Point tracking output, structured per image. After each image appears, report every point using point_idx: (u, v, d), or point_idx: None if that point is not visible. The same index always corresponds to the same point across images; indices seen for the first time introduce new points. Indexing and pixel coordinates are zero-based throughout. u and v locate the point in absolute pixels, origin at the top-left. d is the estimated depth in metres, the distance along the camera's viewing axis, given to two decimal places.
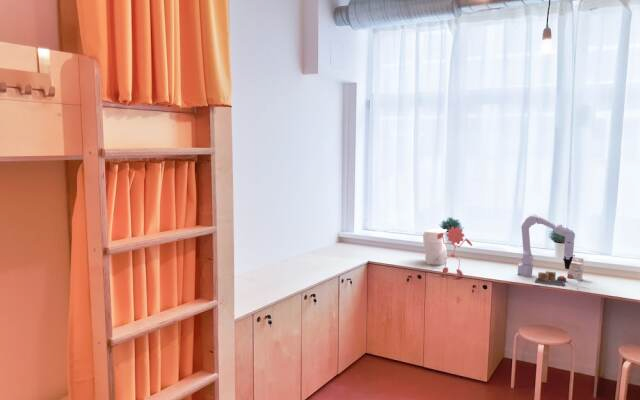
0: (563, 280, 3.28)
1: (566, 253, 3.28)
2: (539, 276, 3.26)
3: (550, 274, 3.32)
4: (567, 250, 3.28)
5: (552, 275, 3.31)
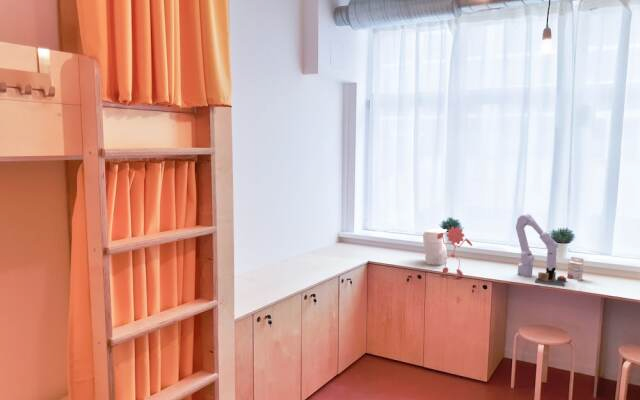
0: (563, 280, 3.28)
1: (549, 264, 3.31)
2: (539, 276, 3.26)
3: None
4: (550, 261, 3.31)
5: None
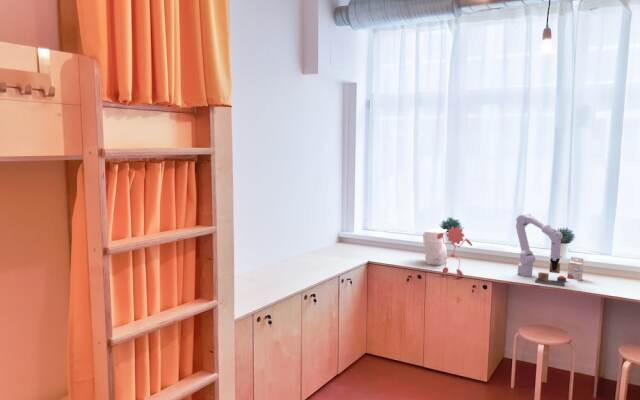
0: (563, 280, 3.28)
1: (553, 254, 3.25)
2: (539, 276, 3.26)
3: None
4: (554, 251, 3.24)
5: (557, 266, 3.25)
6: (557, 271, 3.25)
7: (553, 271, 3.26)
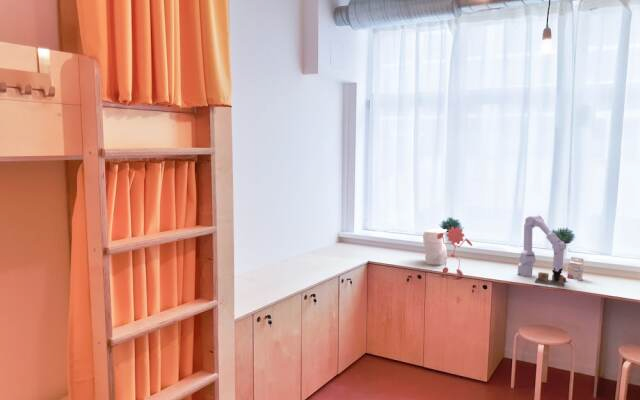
0: (563, 280, 3.28)
1: (555, 265, 3.20)
2: (539, 276, 3.26)
3: None
4: (556, 262, 3.19)
5: (559, 278, 3.20)
6: (559, 283, 3.20)
7: None
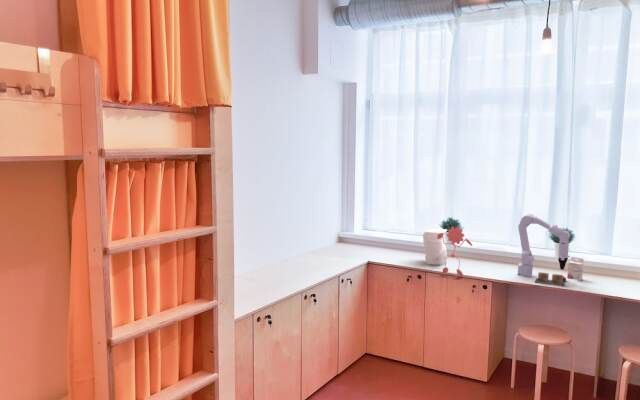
0: (563, 280, 3.28)
1: (561, 254, 3.27)
2: (539, 276, 3.26)
3: (557, 277, 3.20)
4: (562, 251, 3.27)
5: (559, 278, 3.20)
6: (559, 283, 3.20)
7: None
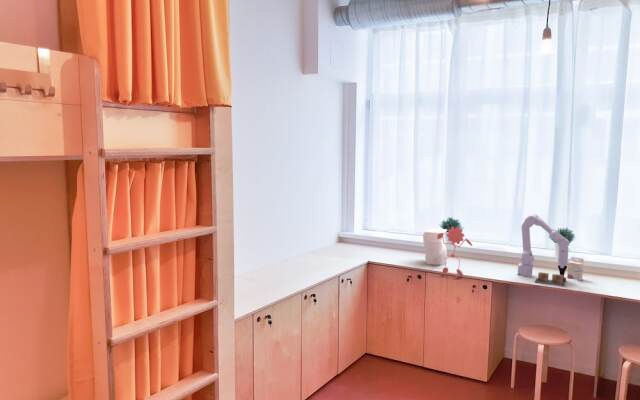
0: (563, 280, 3.28)
1: (560, 262, 3.28)
2: (539, 276, 3.26)
3: (557, 277, 3.20)
4: (561, 259, 3.27)
5: (559, 278, 3.20)
6: (559, 283, 3.20)
7: None
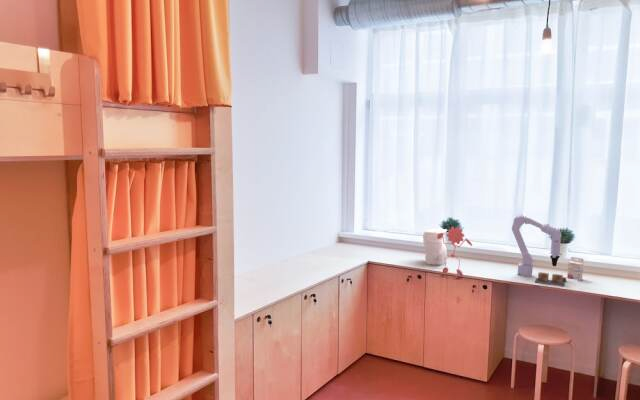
0: (563, 280, 3.28)
1: (553, 251, 3.35)
2: (539, 276, 3.26)
3: (557, 277, 3.20)
4: (554, 248, 3.34)
5: (559, 278, 3.20)
6: (559, 283, 3.20)
7: None
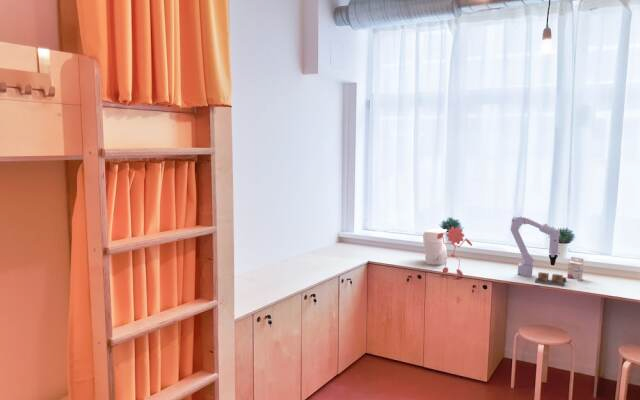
0: (563, 280, 3.28)
1: (551, 251, 3.37)
2: (539, 276, 3.26)
3: (557, 277, 3.20)
4: (552, 248, 3.36)
5: (559, 278, 3.20)
6: (559, 283, 3.20)
7: None
